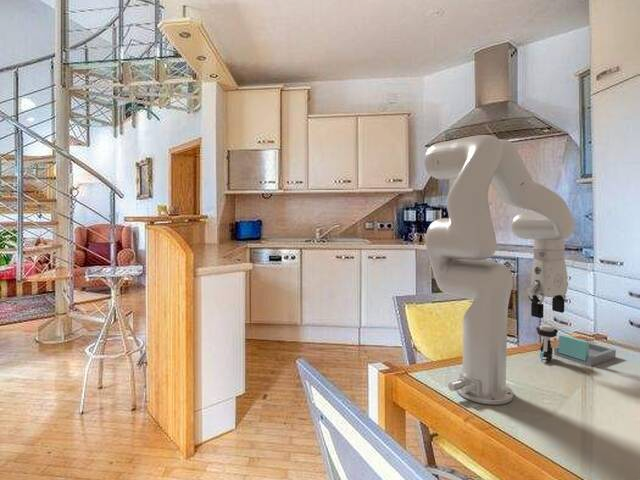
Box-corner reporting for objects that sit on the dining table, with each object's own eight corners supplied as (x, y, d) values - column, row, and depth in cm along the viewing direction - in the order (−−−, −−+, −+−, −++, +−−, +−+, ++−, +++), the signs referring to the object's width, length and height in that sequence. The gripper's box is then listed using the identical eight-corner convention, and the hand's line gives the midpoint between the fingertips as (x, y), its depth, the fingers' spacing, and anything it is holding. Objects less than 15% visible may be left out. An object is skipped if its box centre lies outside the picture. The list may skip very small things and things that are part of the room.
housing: (590, 366, 105) (590, 358, 105) (554, 354, 114) (554, 347, 114) (615, 357, 111) (615, 349, 111) (579, 347, 120) (579, 340, 120)
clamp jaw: (585, 360, 106) (586, 342, 106) (558, 352, 113) (559, 335, 113) (588, 359, 107) (589, 341, 107) (561, 351, 114) (562, 334, 113)
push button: (554, 366, 106) (555, 331, 105) (532, 361, 109) (533, 327, 108) (558, 359, 111) (559, 325, 110) (537, 355, 114) (538, 322, 113)
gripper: (542, 259, 101) (541, 322, 102) (580, 253, 109) (579, 312, 110) (516, 256, 107) (516, 316, 109) (553, 251, 115) (553, 307, 117)
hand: (547, 314), depth 109 cm, fingers open, 9 cm apart
